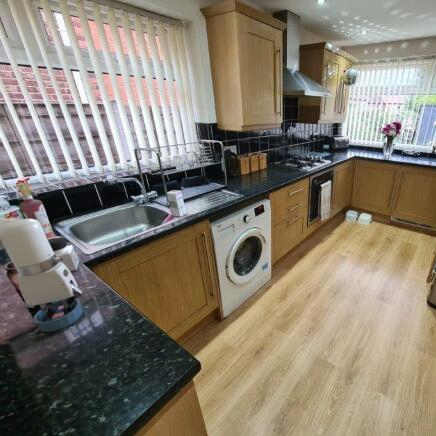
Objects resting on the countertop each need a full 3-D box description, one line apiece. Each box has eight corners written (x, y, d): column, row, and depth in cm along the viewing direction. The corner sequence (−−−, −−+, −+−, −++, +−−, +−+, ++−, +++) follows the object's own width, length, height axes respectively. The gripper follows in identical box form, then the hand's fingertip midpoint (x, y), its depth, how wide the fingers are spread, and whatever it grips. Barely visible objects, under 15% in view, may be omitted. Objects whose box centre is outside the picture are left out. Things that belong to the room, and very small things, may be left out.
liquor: (53, 242, 115) (27, 185, 104) (33, 245, 112) (4, 186, 101) (60, 235, 121) (36, 180, 110) (42, 238, 119) (15, 182, 108)
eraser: (66, 322, 70) (62, 315, 69) (54, 325, 69) (50, 317, 68) (73, 310, 74) (70, 303, 73) (62, 312, 73) (58, 305, 72)
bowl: (31, 338, 66) (25, 327, 64) (49, 312, 74) (44, 302, 73) (76, 327, 69) (71, 317, 68) (88, 303, 78) (84, 294, 76)
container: (77, 270, 94) (64, 240, 89) (50, 277, 90) (35, 246, 85) (79, 260, 100) (67, 232, 95) (54, 267, 96) (40, 238, 91)
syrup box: (186, 213, 148) (181, 190, 142) (179, 217, 142) (175, 193, 137) (178, 212, 149) (173, 189, 143) (171, 216, 144) (166, 192, 138)
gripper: (80, 251, 70) (100, 301, 78) (6, 264, 65) (35, 316, 72) (69, 265, 64) (93, 318, 71) (-14, 280, 58) (20, 336, 66)
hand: (63, 316), depth 72 cm, fingers closed on eraser, 2 cm apart
